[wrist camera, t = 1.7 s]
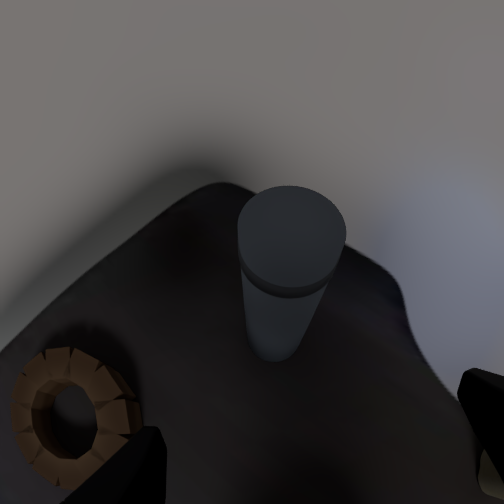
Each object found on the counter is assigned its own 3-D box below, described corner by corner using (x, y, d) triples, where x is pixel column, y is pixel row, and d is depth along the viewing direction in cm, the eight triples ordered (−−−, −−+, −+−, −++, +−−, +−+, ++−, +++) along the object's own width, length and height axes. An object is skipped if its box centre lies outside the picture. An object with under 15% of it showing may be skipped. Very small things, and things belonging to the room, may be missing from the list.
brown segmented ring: (156, 486, 15) (143, 493, 13) (40, 480, 14) (20, 481, 12) (132, 349, 20) (118, 339, 18) (28, 361, 19) (9, 353, 17)
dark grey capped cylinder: (307, 354, 20) (364, 261, 9) (253, 368, 20) (250, 287, 9) (292, 306, 22) (324, 178, 11) (241, 317, 22) (226, 194, 11)
